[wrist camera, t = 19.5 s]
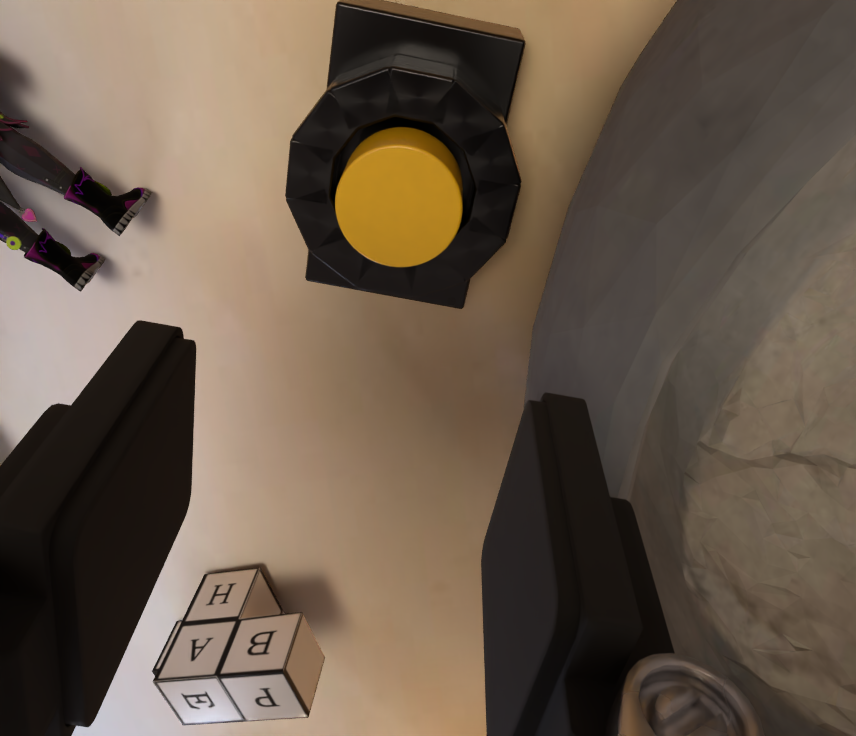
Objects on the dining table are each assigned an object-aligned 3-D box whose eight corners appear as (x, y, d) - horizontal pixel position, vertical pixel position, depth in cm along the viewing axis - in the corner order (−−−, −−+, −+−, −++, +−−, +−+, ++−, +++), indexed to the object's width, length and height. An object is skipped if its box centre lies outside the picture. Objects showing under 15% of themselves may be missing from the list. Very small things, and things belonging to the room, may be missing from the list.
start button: (473, 139, 20) (475, 158, 19) (449, 252, 22) (448, 278, 20) (352, 115, 20) (343, 132, 18) (336, 231, 22) (327, 256, 20)
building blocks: (318, 561, 32) (150, 580, 34) (282, 671, 28) (91, 686, 30) (358, 645, 35) (200, 659, 37) (332, 759, 30) (153, 768, 32)
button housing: (539, 32, 22) (554, 56, 19) (478, 283, 26) (481, 341, 23) (327, -12, 22) (302, 4, 18) (299, 250, 26) (274, 304, 22)
